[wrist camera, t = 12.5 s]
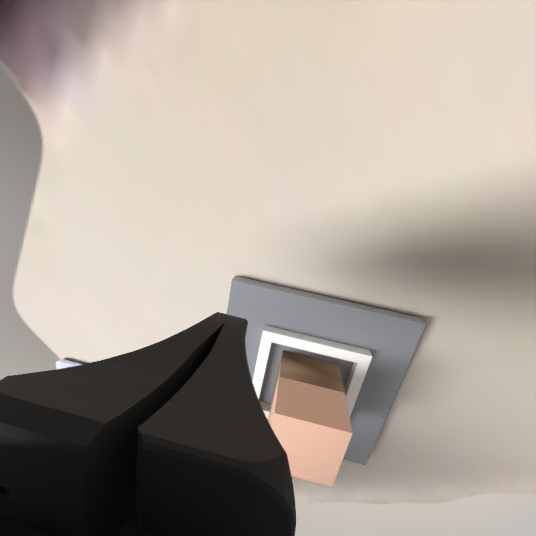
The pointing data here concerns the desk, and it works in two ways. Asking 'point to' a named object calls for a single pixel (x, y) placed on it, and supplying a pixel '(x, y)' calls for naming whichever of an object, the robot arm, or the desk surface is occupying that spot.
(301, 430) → the brick stack
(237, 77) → the desk surface
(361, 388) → the base plate
